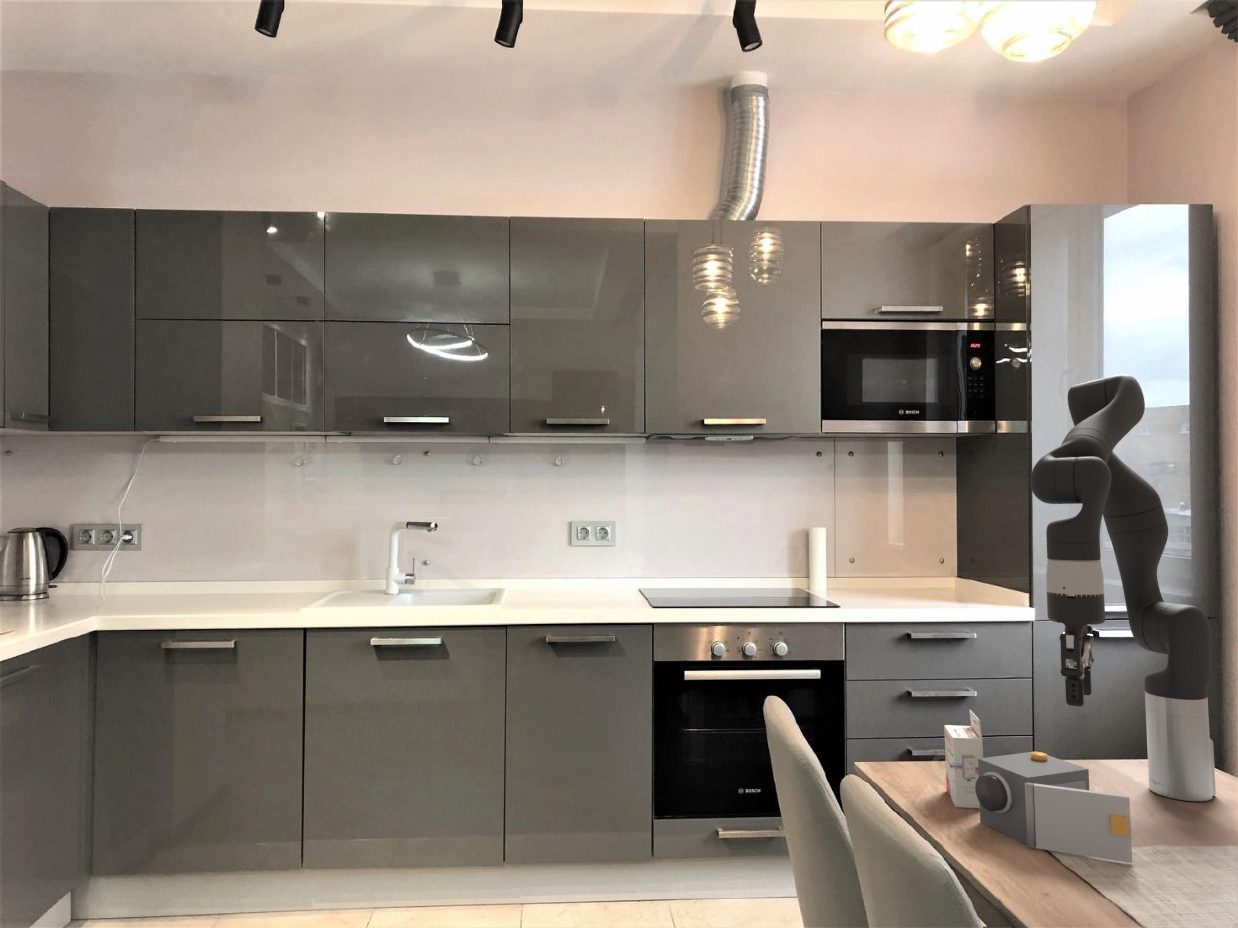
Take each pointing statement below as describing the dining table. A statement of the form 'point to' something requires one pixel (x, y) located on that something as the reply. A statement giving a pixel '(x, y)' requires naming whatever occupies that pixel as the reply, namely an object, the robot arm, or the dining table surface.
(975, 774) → the ink cartridge box
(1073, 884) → the dining table surface
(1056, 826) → the side door
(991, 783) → the camera body
